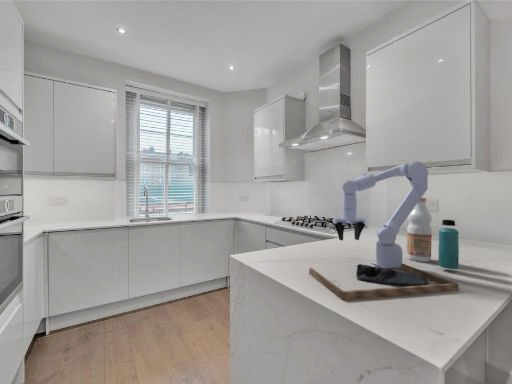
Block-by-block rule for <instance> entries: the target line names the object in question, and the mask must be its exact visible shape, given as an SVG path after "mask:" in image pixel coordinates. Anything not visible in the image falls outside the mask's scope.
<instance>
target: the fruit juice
mask: <svg viewBox="0 0 512 384" xmlns="http://www.w3.org/2000/svg"><path fill="white" fill-rule="evenodd" d="M426 203H427V198H426V197H422V198H421V199H420V200H419V202H418V203H417V204H416V206H415V207H414V209H413V210H412V211H411V213H410V214H409V216H408V217H407V221H408V225H407V226H406V227H407V229H406V258H407V259H408V260H411V261H414V262H419V263H428V262H431V260H432V227H431V223H432V215H431V213H430V212H429V210H428V208H427V204H426Z"/></svg>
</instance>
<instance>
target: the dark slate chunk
mask: <svg viewBox="0 0 512 384" xmlns="http://www.w3.org/2000/svg"><path fill="white" fill-rule="evenodd" d="M356 266H357V267H356V279H357V280H358V281H362V282H364V281H365V282H369V283H370V282H371V283H374V284H375V283H376V284H383V285H390V286H391V285H392V286H395V287H396V286H397V287H407V286H421V285H430V284H429V280H428V279H425V278H424V277H423V276H422V275H416V274H413V273H410V272H407V271H399V270H393V269H392V268H382V267H380V266H372V265H368V264H362V263H359V264H357V265H356Z"/></svg>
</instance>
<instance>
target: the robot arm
mask: <svg viewBox="0 0 512 384" xmlns="http://www.w3.org/2000/svg"><path fill="white" fill-rule="evenodd" d="M428 175H429V171H428V168H427V166H426V164H425V163H424V162H422V161H418V160H417V161H412V162H411V163H404V164H400V165H397V166H394V167H391V168H389V169H386V170H383V171H381V172H379V173H376V174H372V173H364V174H362V175H361V176H359V177H356V178H354V177H353V178H352V179H351V180H347V181H345V182H344V183H343V185H342V191H343V193H342V196H343V197H342V217H341V218H338V217H337V218H332V223H333V226H334V228H335V230H336V232H337V233H336V234H337V235H338V240H339V241H343V240H344V231H345V224H352V225H353V231H354V240H357V241H359V240H360V237H361V234H362V231H363V229H364V228H365V227H366V225H365V224H366V218H363V217H362V218H359V217H357V207H358V206H357V201H358V198H357V191H358V192H361V191H365V190H367V189H371V188H373V187H376V184H377V182H380V181H384V180H387V179H390V178H392V177H396V176H398V177H405V178H406V179H407V180H408V182H409V184H410V187H411V189H409V191H408V193H407V194H406V195H405V197H404V198H403V200H402V201H401V202H400V204H399V206H398V207H397V208H396V209H395V211H394V212H393V214H392V215H391V217H390V218H389V219H388V221H386V223H384V225H383V226H381V227H379V228H378V229H377V231H376V237H377V238H378V240H377V241H376V245H375V247H376V248H375V249H376V250H375V252H376V253H375V261H371V264H373V265H375V266H376V267H380V268H385V269H395V268H397V269H398V268H399V269H400V268H401V264H403V249H402V246H401V245H399V244H398V243H396V240H397V235H398V233H399V232H400V228H402V227H401V226H402V225H403V224H404V223H405V221H406V219H408V216H409V214H410V213H411V211H412V210H413V209H414V207H415V206H416V204H417V203H418V202H419V200H420V199H421V198H423V196H424V195H425V193H426V192H427V191H428V188H429V187H428V183H429V182H428V180H429V179H428Z"/></svg>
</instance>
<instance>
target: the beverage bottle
mask: <svg viewBox="0 0 512 384" xmlns="http://www.w3.org/2000/svg"><path fill="white" fill-rule="evenodd" d="M441 225H442V226H449V227H442V228H440V229H439V230H438V260H437V262H438V267H441V268H443V269H448V270H458V269H459V265H460V264H459V263H460V262H459V259H460V257H459V254H460V249H459V247H460V243H459V233H460V232H459V231H458V230H457V229H456V228H452V227H456V221H455V220H453V219H443V220H442V221H441ZM450 226H451V228H450Z"/></svg>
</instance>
